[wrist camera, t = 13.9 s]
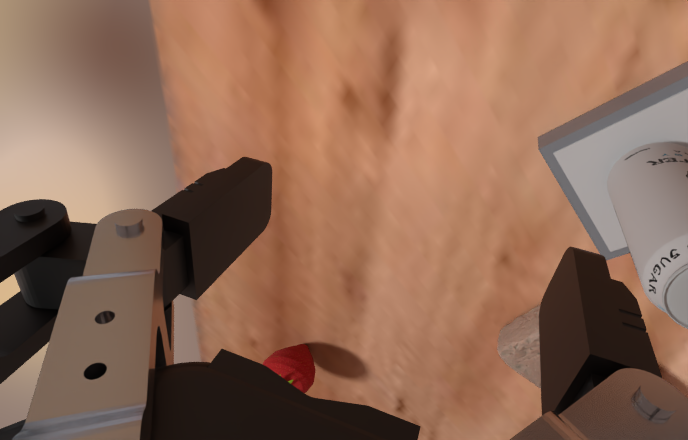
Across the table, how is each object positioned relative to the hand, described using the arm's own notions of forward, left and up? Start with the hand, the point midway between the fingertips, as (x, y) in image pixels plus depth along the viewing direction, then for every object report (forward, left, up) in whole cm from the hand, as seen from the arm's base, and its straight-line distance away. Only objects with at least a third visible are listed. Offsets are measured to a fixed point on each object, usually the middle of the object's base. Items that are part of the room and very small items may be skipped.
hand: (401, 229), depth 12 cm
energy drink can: (-6, +15, -27) cm, 31 cm away
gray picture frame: (-6, +15, -30) cm, 34 cm away
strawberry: (+40, +21, -30) cm, 54 cm away
